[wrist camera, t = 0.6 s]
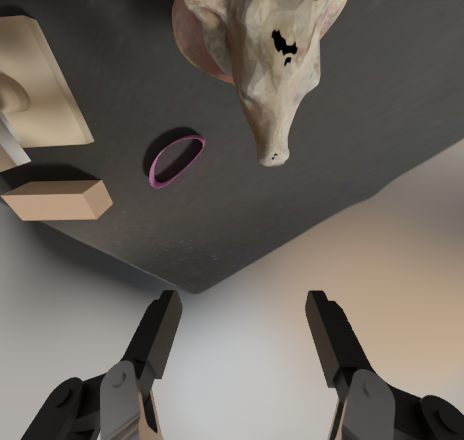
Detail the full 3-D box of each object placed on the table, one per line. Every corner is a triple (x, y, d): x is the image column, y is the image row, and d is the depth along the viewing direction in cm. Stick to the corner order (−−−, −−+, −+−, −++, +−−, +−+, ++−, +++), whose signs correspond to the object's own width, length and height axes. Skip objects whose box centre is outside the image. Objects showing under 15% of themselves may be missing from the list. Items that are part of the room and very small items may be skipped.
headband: (190, 120, 25) (187, 123, 23) (209, 143, 26) (208, 148, 25) (143, 169, 29) (138, 175, 27) (164, 186, 31) (160, 193, 29)
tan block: (31, 181, 30) (0, 195, 26) (102, 179, 30) (81, 193, 26) (48, 204, 33) (22, 220, 28) (113, 202, 32) (96, 219, 28)
